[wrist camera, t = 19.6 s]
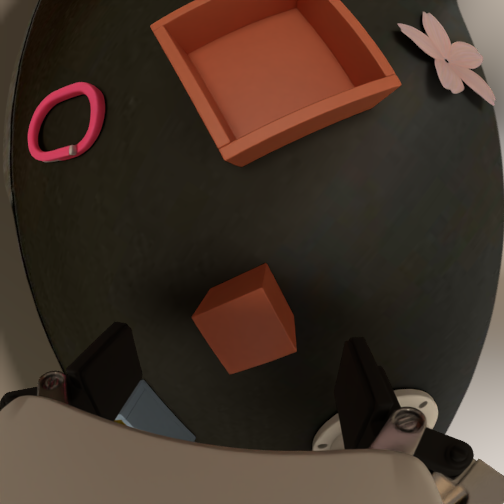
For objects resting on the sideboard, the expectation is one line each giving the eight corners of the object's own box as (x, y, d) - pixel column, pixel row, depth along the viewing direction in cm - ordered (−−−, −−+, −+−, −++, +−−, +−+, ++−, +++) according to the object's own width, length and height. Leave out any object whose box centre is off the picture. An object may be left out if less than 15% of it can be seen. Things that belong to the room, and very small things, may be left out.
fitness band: (35, 166, 16) (23, 167, 15) (42, 102, 15) (30, 99, 13) (103, 154, 15) (90, 152, 14) (112, 77, 14) (100, 71, 13)
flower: (480, 155, 11) (495, 149, 10) (362, 47, 12) (369, 33, 10) (499, 85, 11) (509, 78, 9) (409, 4, 11) (415, -7, 10)
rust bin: (372, 108, 13) (402, 84, 9) (240, 167, 15) (224, 161, 11) (299, 5, 12) (302, -36, 7) (178, 57, 13) (149, 25, 9)
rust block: (294, 316, 17) (297, 351, 13) (239, 338, 18) (229, 375, 14) (266, 262, 16) (262, 287, 12) (209, 288, 17) (190, 317, 13)
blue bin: (196, 437, 21) (184, 472, 17) (140, 441, 23) (125, 469, 18) (143, 379, 20) (120, 414, 15) (92, 390, 21) (70, 417, 17)
